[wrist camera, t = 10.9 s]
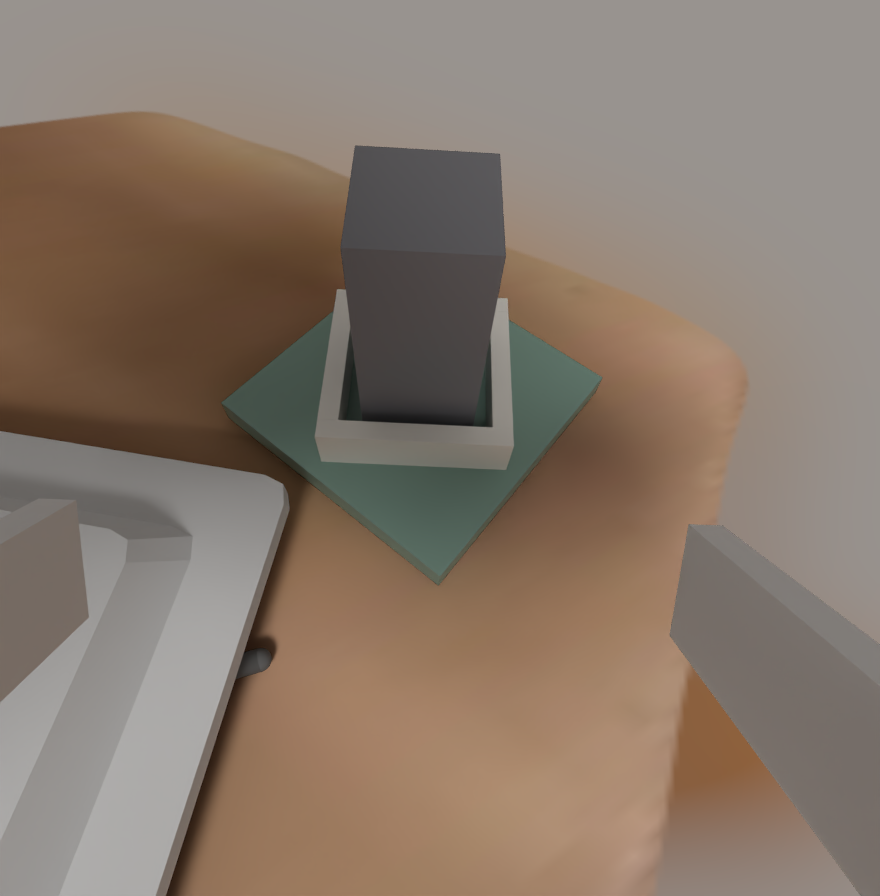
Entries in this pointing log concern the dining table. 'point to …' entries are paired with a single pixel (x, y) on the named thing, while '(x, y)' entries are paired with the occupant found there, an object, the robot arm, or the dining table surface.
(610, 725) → the dining table surface
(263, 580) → the ventilation fan
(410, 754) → the dining table surface
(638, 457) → the dining table surface
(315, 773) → the dining table surface
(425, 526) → the header board
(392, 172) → the plug
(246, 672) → the fan lead
